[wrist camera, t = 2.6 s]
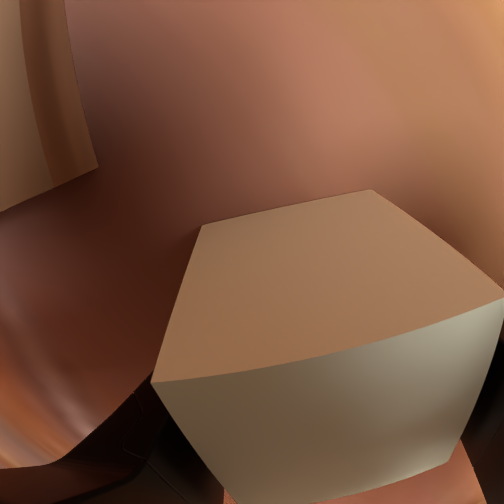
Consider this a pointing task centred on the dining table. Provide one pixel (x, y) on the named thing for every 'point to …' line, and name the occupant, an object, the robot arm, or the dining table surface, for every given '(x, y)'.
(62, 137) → the plinth
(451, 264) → the block
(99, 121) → the dining table surface
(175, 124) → the dining table surface
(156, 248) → the dining table surface
